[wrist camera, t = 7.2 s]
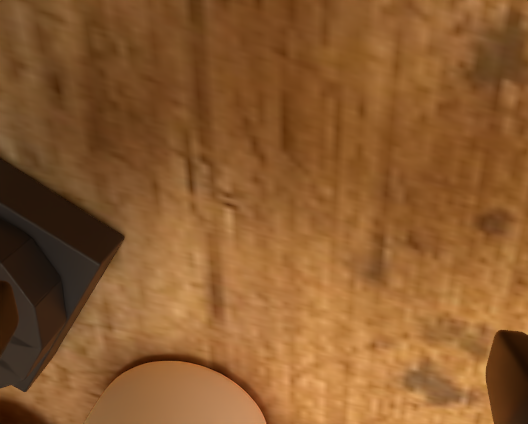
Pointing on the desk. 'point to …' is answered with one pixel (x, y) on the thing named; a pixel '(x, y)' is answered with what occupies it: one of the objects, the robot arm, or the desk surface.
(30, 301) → the switch base
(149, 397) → the mug
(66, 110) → the desk surface
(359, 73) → the desk surface
